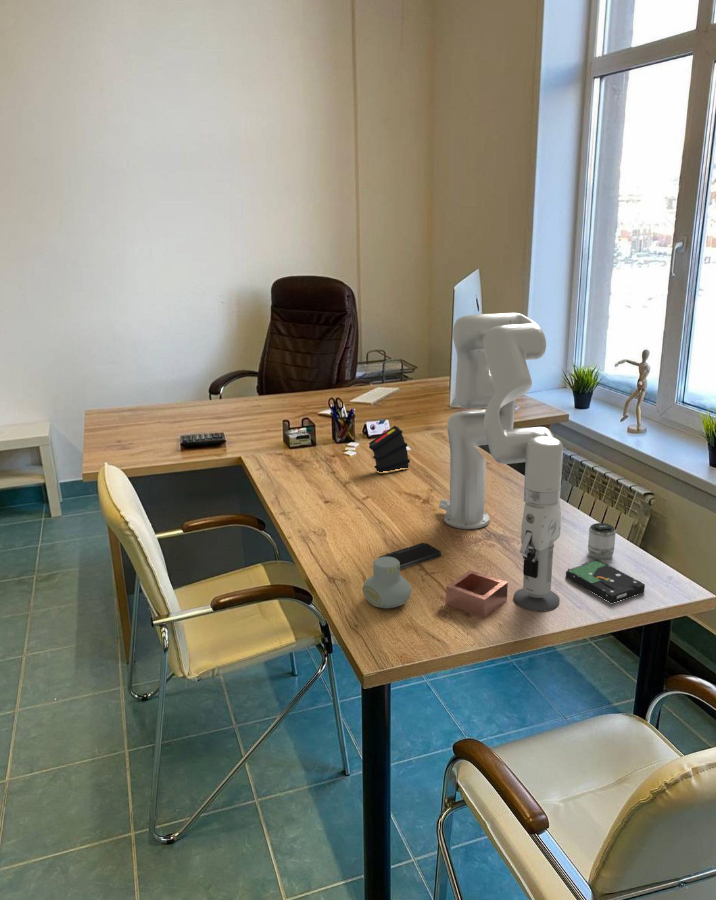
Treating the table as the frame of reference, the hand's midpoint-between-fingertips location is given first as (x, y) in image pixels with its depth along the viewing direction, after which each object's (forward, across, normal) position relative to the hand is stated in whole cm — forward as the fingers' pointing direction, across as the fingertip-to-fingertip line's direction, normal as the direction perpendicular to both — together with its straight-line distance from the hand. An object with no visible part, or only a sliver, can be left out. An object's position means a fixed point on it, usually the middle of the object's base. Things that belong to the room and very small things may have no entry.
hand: (537, 569), depth 169 cm
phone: (+8, 0, +35) cm, 36 cm away
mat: (+7, 0, 0) cm, 7 cm away
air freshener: (+8, -21, +26) cm, 34 cm away
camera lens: (+8, +30, -2) cm, 31 cm away
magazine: (+8, +47, +78) cm, 91 cm away
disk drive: (+8, +16, -9) cm, 20 cm away
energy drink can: (+6, 0, 0) cm, 6 cm away
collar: (+7, -9, +10) cm, 15 cm away
